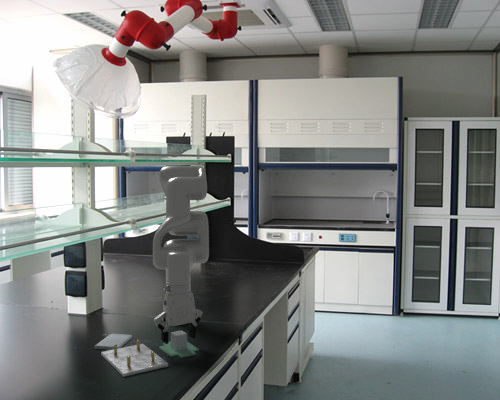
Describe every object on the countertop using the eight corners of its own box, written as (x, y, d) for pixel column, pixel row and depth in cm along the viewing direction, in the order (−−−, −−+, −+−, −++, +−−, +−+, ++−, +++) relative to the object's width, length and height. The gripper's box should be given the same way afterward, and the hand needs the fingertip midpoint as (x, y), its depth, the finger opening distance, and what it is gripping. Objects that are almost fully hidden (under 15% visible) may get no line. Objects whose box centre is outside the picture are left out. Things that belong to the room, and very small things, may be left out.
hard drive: (117, 347, 171) (132, 334, 183) (94, 345, 172) (110, 333, 185) (117, 352, 171) (132, 339, 183) (94, 350, 172) (110, 337, 185)
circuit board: (156, 346, 175) (156, 329, 175) (183, 340, 181) (182, 324, 180) (174, 359, 164) (174, 342, 163) (202, 353, 169) (202, 336, 169)
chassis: (101, 355, 167) (101, 342, 167) (142, 346, 175) (142, 334, 174) (123, 376, 150) (123, 363, 150) (168, 366, 158) (168, 353, 158)
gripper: (158, 294, 163) (159, 348, 164) (207, 287, 172) (207, 338, 173) (149, 290, 169) (149, 341, 170) (196, 283, 178) (196, 332, 180)
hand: (178, 340), depth 172 cm, fingers open, 9 cm apart
